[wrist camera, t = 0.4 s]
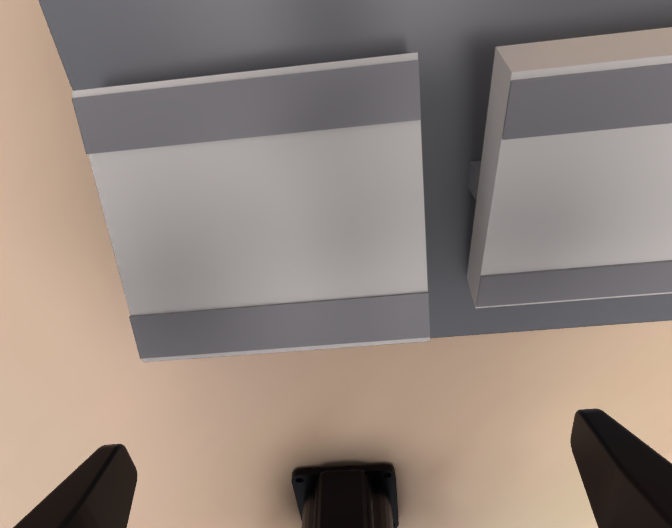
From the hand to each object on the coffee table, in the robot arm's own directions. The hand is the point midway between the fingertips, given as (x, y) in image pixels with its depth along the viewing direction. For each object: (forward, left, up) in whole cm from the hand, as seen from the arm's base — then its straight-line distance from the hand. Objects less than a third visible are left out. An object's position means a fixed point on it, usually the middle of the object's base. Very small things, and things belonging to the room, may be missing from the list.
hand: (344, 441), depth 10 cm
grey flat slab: (+1, -10, -8) cm, 13 cm away
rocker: (+1, +2, -8) cm, 8 cm away
